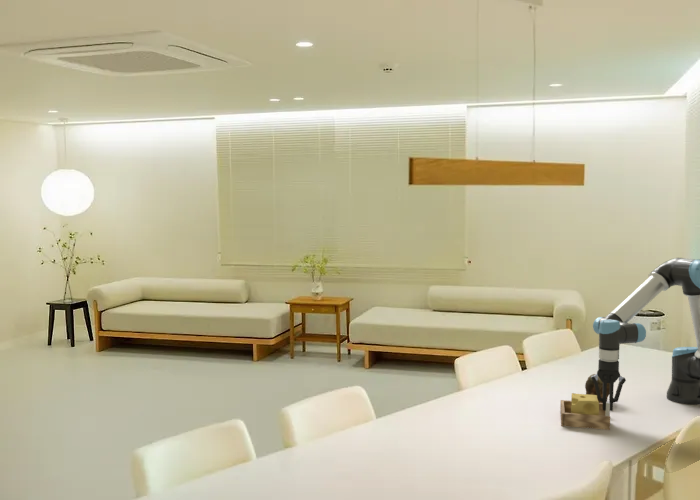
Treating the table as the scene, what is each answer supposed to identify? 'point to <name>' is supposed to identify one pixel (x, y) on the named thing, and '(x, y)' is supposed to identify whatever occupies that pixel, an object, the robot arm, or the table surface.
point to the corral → (583, 418)
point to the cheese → (584, 404)
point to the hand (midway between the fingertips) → (607, 418)
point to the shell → (592, 390)
